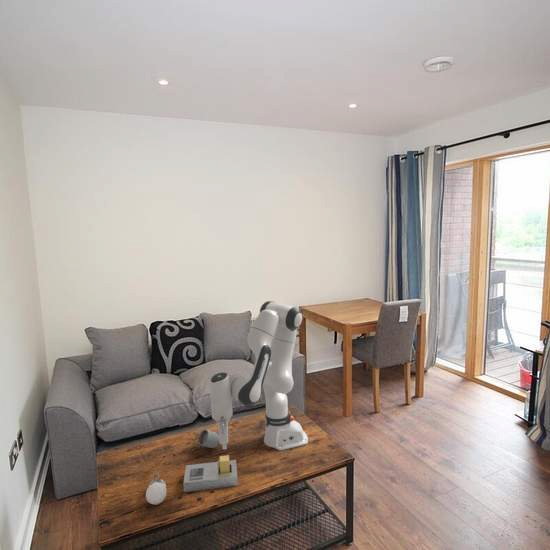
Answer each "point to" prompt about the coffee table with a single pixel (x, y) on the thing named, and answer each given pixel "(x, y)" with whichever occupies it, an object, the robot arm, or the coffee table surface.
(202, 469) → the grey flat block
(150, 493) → the geometric ball
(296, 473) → the coffee table surface
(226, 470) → the plug
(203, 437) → the ceramic mug
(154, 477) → the house of cards
